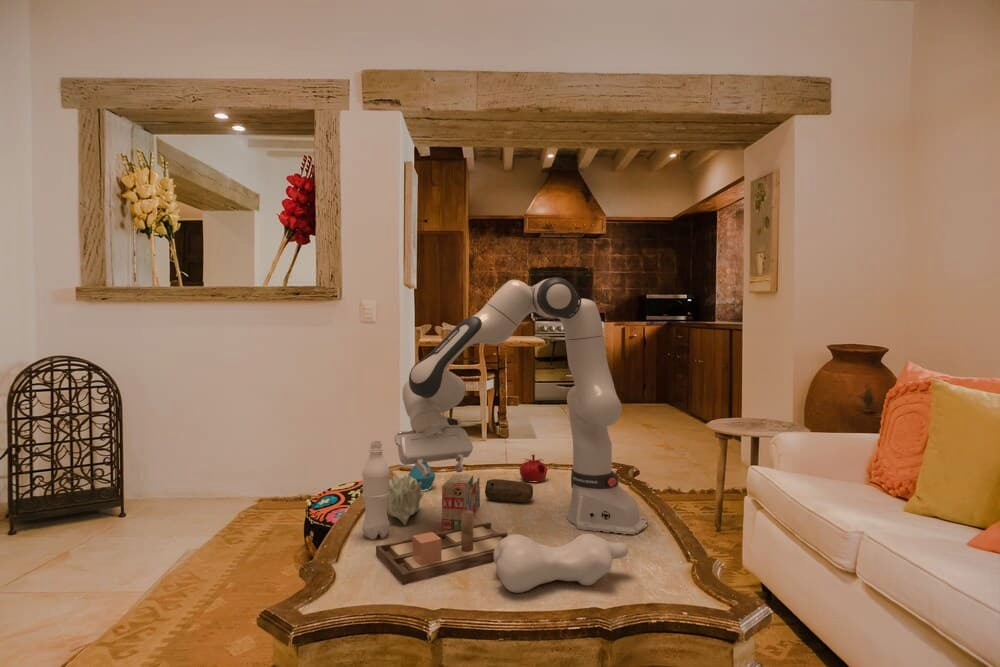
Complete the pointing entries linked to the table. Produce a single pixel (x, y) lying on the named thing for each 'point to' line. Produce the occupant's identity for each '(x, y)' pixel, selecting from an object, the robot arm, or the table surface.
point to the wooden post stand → (464, 549)
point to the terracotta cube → (427, 548)
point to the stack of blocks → (459, 499)
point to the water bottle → (376, 493)
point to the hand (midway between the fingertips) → (444, 473)
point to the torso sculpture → (553, 561)
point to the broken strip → (452, 538)
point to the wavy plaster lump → (404, 497)
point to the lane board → (415, 575)
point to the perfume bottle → (419, 477)
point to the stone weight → (508, 490)
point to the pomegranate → (533, 470)
